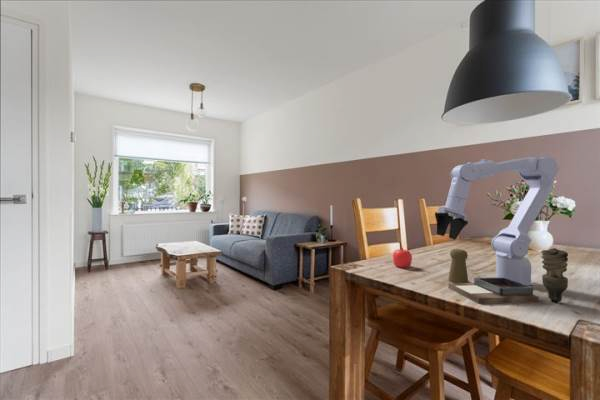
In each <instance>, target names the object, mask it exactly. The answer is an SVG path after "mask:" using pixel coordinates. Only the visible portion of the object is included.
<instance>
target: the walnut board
mask: <svg viewBox="0 0 600 400" xmlns="http://www.w3.org/2000/svg"><path fill="white" fill-rule="evenodd" d="M447 285H448V286H447V287H448V289H450V290H451V291H454V292H456V293H458V294H460V295H461V296H463V297H465V298H467V299H469V300H471V301H473V302H475V303H477V304H483V305H484V304H509V303H513V304H514V303H515V304H516V303H539V302H540V296H539V295H536V294H534V293H533V294H532V295H513V296H502V295H497V294H495V293H494V294H470V293H468V292H466V291H464V290H462V289H460V288H458V287H456V286H468V285H474V282H468V283H453V282H449V283H448V284H447ZM476 286H477V285H476ZM495 286H498V287H500V288H509V286H506V285H504V284H496V285H495Z"/></svg>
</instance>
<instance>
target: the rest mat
mask: <svg viewBox="0 0 600 400" xmlns="http://www.w3.org/2000/svg"><path fill="white" fill-rule="evenodd" d="M456 287H458V288H460V289H462V290H464V291H466V292H468V293H470V294H494V293H493V292H490V291H488V290H486V289H483V288H481V287H479V286H476V285H468V286H456Z"/></svg>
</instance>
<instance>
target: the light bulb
mask: <svg viewBox="0 0 600 400" xmlns="http://www.w3.org/2000/svg"><path fill="white" fill-rule="evenodd" d="M540 253H541V254H542V255H541V256H540V257H541V259H543V260H542V261H541V263H542V269H544V270H546V273H545V274H542V275H541V277H542V278H541V280H542V286H544V287H545V289H546V290H547V295H548V297H547V298H548V299H550V300H551V303H555V304H558V302H561V301H563V293H564V292H565V291H566V290H568V287H569V286H568V285H569V280H568V278H567V277H566V276H564V275H563V273H565V272H567V271H568V268H567V267H568V263H567V262H568V261H569V258H568V257H569V254H568V252H567V251H564V250H561V249H558V248H555V247H552V248H549V249H542V250H541V252H540Z"/></svg>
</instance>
